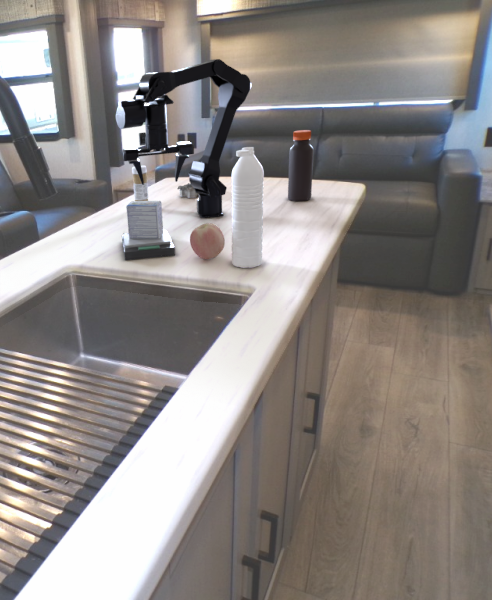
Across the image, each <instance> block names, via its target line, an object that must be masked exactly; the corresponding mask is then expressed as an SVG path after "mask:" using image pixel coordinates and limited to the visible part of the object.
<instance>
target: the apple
mask: <svg viewBox="0 0 492 600" xmlns="http://www.w3.org/2000/svg"><path fill="white" fill-rule="evenodd" d="M189 243H190V247H191V249H192V251H193V253H194V254H195V255H196V256H197V257H198V258H200V259H202V260H212V259H215V258H217V256H219V255H220V254H221V253H222V252H223V250H224V248H225V244H226V242H225V235H224V233H223V231H222V229H221V228H220V227H219V226H218V225H217V224H215V223H212V222H211V223H210V222H206V223H203V224H201V225H199V226H197V227H195V228H194V229H193V230H192V231H191V233H190V236H189Z"/></svg>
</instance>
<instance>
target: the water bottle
mask: <svg viewBox="0 0 492 600" xmlns="http://www.w3.org/2000/svg"><path fill="white" fill-rule="evenodd" d="M235 157H237V158H238V157H239V158H238V160H237V161H236V163H235V165H234V166H233V168H232V169H231V170H232V171H231V177H230V178H231V264H232V265H233V266H234V267H237V268H242V269H248V268H249V269H252V268H253V269H254V268H256V267H259V266H261V265H262V263H263V232H264V231H263V230H264V228H263V225H264V218H263V217H264V177H265V171H264V167H263V165H262V164H261V162H260V161H259V159H258V158H257V157H256V155H255V147H254V146H246V147H245V146H244V147H242V148H241V149H238V150H236V151H235Z"/></svg>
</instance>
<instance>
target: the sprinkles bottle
mask: <svg viewBox="0 0 492 600" xmlns="http://www.w3.org/2000/svg"><path fill="white" fill-rule="evenodd" d="M141 169H142V174H143V179H144V185H142V183H141V180H140V177H139V175H138V172H137V170H136V168H135V167H134V166H132V167H131V174H132V180H133V182H132V183H133V197H134V201H149V188H148V187H149V186H148V177H147V174H148V173H147V172H148V170H147V166H146V165H144V164H143V165H142V164H141Z"/></svg>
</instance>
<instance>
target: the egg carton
mask: <svg viewBox="0 0 492 600" xmlns="http://www.w3.org/2000/svg"><path fill="white" fill-rule="evenodd" d="M177 190H179V196H180V198H185V197H186V198H187V199H193V198H198V197H199V195H198V194H199V193H196V192H195V190H194V187H192V185H191V183H190V182H188V183H187V184H186V183H185V184H184V185H178V186H177Z"/></svg>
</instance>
